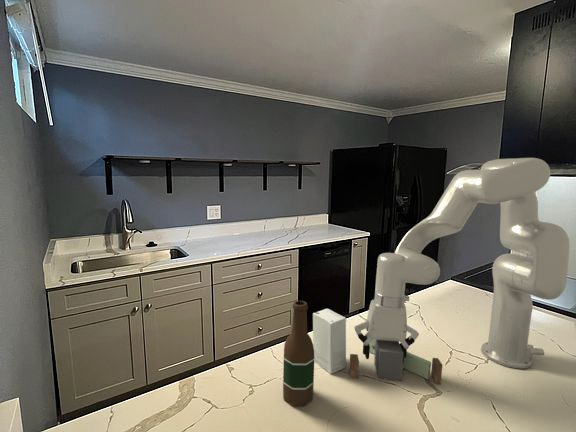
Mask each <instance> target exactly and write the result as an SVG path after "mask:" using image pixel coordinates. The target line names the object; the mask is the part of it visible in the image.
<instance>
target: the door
mask: <svg viewBox="0 0 576 432" xmlns="http://www.w3.org/2000/svg"><path fill="white" fill-rule="evenodd" d="M375 343H376V340H374V339H373V340H372V341H371V342H370V343H369V345H370V352H369V353H370V354H371V353H372V354H373V355H375ZM402 369H405V370H407V371H409V372H411V373H414V374H416V375H418V376H419V377H422V378H424V379H426V380H429V379H430V378H431V369H432V362H431V361H430V360H427V359H425V358H423V357H420V356H418V355H416V354H413V353H411V352H409V351H407V354H406V358H404V362H403V367H402Z"/></svg>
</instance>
